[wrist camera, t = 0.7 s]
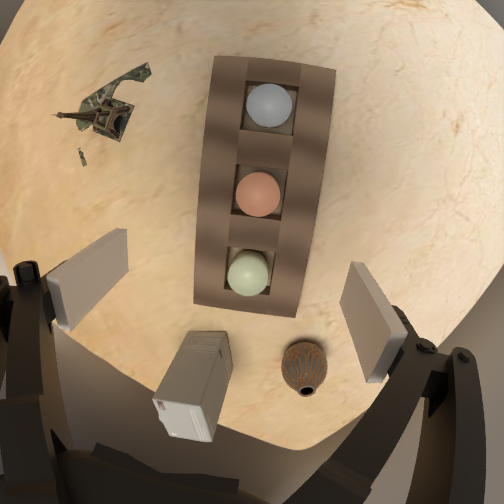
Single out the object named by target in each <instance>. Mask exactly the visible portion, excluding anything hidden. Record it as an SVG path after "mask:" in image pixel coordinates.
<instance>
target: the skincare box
mask: <svg viewBox="0 0 504 504" xmlns="http://www.w3.org/2000/svg"><path fill="white" fill-rule="evenodd" d="M231 373H232V361H231V354H230V349H229V343H228V339H227V335H226V332H206V331H188V333H187V335H186V337H185V339H184V340H183V342H182V344H181V346H180V348H179V350H178V352H177V353H176V355H175V357H174V359H173V361H172V363H171V365H170V367H169V368H168V370H167V372H166V374H165V376H164V378H163V380H162V381H161V383H160V385H159V387H158V389H157V391H156V393H155V394H154V397H153V398H152V400H153V402H154V404H155V406H156V409H157V411H158V412H159V419H160V421H161V422H162V423H163V424H164V426H165V428H166V429H167V431H168V433H169V435H170V436H174V437H179V438H185V439H191V440H197V441H205V442H212V440H213V436H214V433H215V429H216V426H217V422H218V419H219V415H220V412H221V408H222V405H223V401H224V398H225V394H226V391H227V387H228V383H229V380H230V376H231Z"/></svg>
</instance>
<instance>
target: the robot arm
mask: <svg viewBox="0 0 504 504" xmlns="http://www.w3.org/2000/svg"><path fill="white" fill-rule="evenodd" d="M13 271H14V275H15V280H16V284H17V286H9V282H8V279H7V277H6V276H0V389H1V385H2V382H3V378H4V374H5V371H6V399H1V400H0V449H1V457H2V463H3V470H4V474H2V475H0V504H270V503H268V502H267V501H266V500H264V499H263V498H261V497H259V496H258V495H256V494H254V493H251V492H250V491H247V490H245V489H242V488H239V487H238V486H239V479H231V478H224V477H217V476H211V475H205V474H172V473H161V472H158V471H156V470H154V469H152V468H151V467H149V466H147V465H145V464H144V463H142V462H140V461H138V460H137V459H135V458H133V457H132V456H130V455H128V454H126V453H123V452H120V451H117V450H115V449H112V448H110V447H107V446H104V445H102V444H100V443H97V444H96V446H95V448H94V450H90V449H76V447H75V445H74V443H73V440H72V436H71V432H70V429H69V425H68V421H67V416H66V412H65V407H64V403H63V398H62V393H61V388H60V381H59V375H58V369H57V362H56V354H55V343H54V332H53V326H52V321H53V320H54V319H55V318H56V320H57V323H58V327H59V328H60V329H63V330H66V331H69V332H71V331H72V330H73V329H74V328H75V327H76V326H77V325H78V323H79V322H80V321H81V320H82V319H83V318H84V317H85V316H86V315H87V314H88V313H89V311H90V310H91V309H92V308H93V307H94V306H95V305H96V304H97V303H98V302H99V301H100V300H101V299H102V298H103V297H104V296H105V295H106V294H107V293H108V292H109V291H110V289H111V288H112V287H113V286H114V285H115V284H116V283H117V282H118V281H119V280H120V279H121V278H122V277H123V276H124V275H125V274H126V273H127V272H128V271H129V270H128V252H127V229H120V228H115V229H114V230H112V231H111V232H109V233H107V234H106V235H104V236H103V237H101V238H100V239H98V240H96V241H95V242H93V243H92V244H90V245H89V246H87V247H86V248H84V249H83V250H81V251H80V252H78V253H77V254H76V255H74V256H73V257H71V258H70V259H68V260H66V261H63V262H62V263H61V264H59V265H58V266H56V267H55V268H54V269H53V270H51V271H49V272H48V273H47V274H45V275H44V276H43V277H41V278H40V273H39V268H38V264H37V262H35V261H24V262H21V263H18V264H17V265H16V266H14V268H13ZM340 306H341V308H342V311H343V314H344V317H345V320H346V322H347V325H348V328H349V331H350V334H351V337H352V340H353V343H354V346H355V349H356V352H357V355H358V358H359V361H360V364H361V367H362V370H363V374H364V377H365V380H366V383H382V382H383V380H384V378H385V377H386V375H387V373H388V375H389V379H388V381H387V382H386V384H385V385H384V387H383V389H382V390H381V392H380V393H379V395H378V396H377V397H376V399H375V400H374V402H373V403H372V405H371V406H370V407H369V409H368V410H367V412H366V413H365V414H364V416H363V417H362V419H361V420H360V421H359V422H358V424H357V425H356V427H355V428H354V429H353V430H352V432H351V433H350V434H349V435H348V437H347V438H346V439H345V440H344V441H343V443H342V444H341V445H340V446H339V447H338V449H337V450H336V451H335V452H334V453H333V454H332V456H331V457H330V458H329V459H328V460H327V461H326V462H324V464H322V465H321V466H320V467H319V469H318V470H317V471H316V472H315V473H314V474H313V475H312V476H311V477H310V478H309V479H308V480H307V481H306V482H305V483H304V484H303V485H302V486H301V487H300V488H299V489H298V490H297V491H296V492H295V493H294V494H292V495H291V497H289V498H288V499H287V500H286V501H285V502H284V503H283V504H363V503H364V501H365V500H366V499H367V497H368V495H369V494H370V492H371V490H372V489H371V488H370V487H371V485H372V483H373V482H374V480H375V478H376V477H377V476H378V474H379V473H380V471H381V470H382V468H383V466H384V465H385V463H386V461H387V460H388V458H389V457H390V455H391V453H392V452H393V450H394V448H395V446H396V444H397V443H398V441H399V439H400V437H401V436H402V433H403V431H404V430H405V428H406V426H407V424H408V422H409V420H410V418H411V416H412V414H413V412H414V410H415V407H416V406H417V403H418V401H419V399H420V397H425V401H424V411H423V420H422V428H421V435H420V441H419V448H418V454H417V459H416V464H415V468H414V473H413V478H412V482H411V486H410V490H409V493H408V497H407V501H406V504H484V494H485V480H486V479H485V478H486V436H485V421H484V410H483V401H482V393H481V387H480V380H479V374H478V369H477V363H476V359H475V357H474V355H473V354H472V353H471V352H470V351H469V350H467V349H464V348H461V347H456V348H454V349H453V350H452V352H451V354H450V355H445V354H441V353H438V350H437V348H436V346H435V345H434V344H433V343H432V342H430V341H429V340H427V339H424V338H419V336H418V335H417V333H416V331H415V330H414V328H413V327H412V325H411V324H410V322H409V320H408V319H407V317H406V316H405V314H404V312H403V311H402V310H400V309H399V308H398V307H397V306H394V305H391V304H390V302H389V301H388V299H387V298H386V296H385V295H384V293H383V291H382V290H381V288H380V287H379V285H378V284H377V282H376V281H375V279H374V278H373V276H372V275H371V273H370V272H369V270H368V269H367V267H366V266H365V264H364V263H361V262H354V261H351V265H350V268H349V272H348V276H347V279H346V283H345V286H344V289H343V293H342V296H341V300H340Z"/></svg>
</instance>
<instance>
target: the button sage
mask: <svg viewBox="0 0 504 504" xmlns="http://www.w3.org/2000/svg"><path fill="white" fill-rule="evenodd" d="M267 282H268V264H267V261H266V260H265V258H264V257H263V256H262V255H261V254H259V253H257V252H254V251H244V252H241V253H239V254H238V255H236V256H235V258H234V259H233V261H232V263H231V266H230V269H229V272H228V283H229V285H230V287H231V288H232V289H233V290H234V291H235V292H236V293H238V294H240V295H243V296H254V295H257V294H259V293H260V292H262V291H263V290H264V289H265V287H266V285H267Z"/></svg>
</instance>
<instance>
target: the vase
mask: <svg viewBox="0 0 504 504" xmlns="http://www.w3.org/2000/svg"><path fill="white" fill-rule="evenodd" d="M281 369H282V375H283V378H284V380H285V382H286V383H287V384H288V385H289V386H290V387H291V388H292V389H294V390H295V391H297V392H298V394H299V395H301V396H303V397H308V396H311V395H313V394H314V393H315V391H316V389H317V388H318V387H319V386H320V385H321V384H322V383H323V381H324V379H325V377H326V374H327V360H326V357H325V354H324V353H323V351H322V350H321V349H320V348H319V347H318V346H317V345H315V344H313V343H310V342H300V343H297V344H294V345H293V346H291V347H290V348H289V349H288V350H287V351H286V353H285V354H284V357H283V359H282V366H281Z"/></svg>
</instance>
